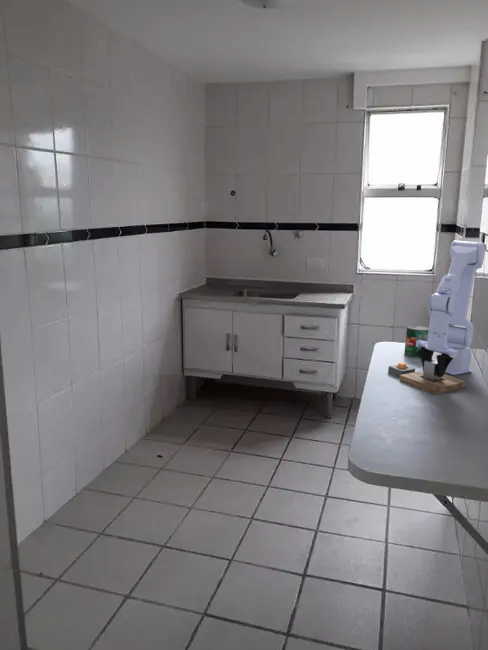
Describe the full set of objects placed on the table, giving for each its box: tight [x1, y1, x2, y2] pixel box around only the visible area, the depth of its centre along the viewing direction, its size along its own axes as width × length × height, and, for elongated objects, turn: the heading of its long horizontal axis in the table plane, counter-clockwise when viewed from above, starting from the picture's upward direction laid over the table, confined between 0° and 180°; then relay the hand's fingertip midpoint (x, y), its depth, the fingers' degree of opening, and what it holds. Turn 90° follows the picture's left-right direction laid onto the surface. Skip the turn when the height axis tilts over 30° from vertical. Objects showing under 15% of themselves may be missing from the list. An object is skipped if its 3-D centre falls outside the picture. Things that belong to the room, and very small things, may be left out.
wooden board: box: [399, 370, 467, 395], centre depth 174 cm, size 14×14×2 cm
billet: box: [423, 358, 442, 382], centre depth 174 cm, size 4×4×7 cm
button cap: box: [397, 362, 408, 369], centre depth 183 cm, size 3×3×2 cm
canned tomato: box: [403, 324, 429, 360], centre depth 206 cm, size 8×8×11 cm
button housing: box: [387, 364, 416, 378], centre depth 183 cm, size 6×6×2 cm
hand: (433, 373), depth 174 cm, fingers open, 5 cm apart
